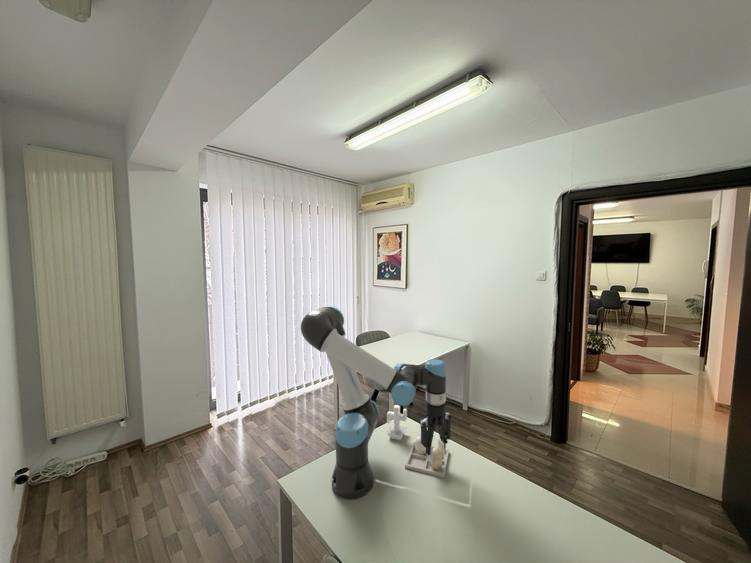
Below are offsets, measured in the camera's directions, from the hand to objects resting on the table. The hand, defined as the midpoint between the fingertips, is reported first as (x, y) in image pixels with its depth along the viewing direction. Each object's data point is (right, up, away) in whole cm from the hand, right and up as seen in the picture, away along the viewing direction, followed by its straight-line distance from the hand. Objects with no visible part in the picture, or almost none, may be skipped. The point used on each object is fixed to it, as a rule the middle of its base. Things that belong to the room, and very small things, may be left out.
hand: (435, 459), depth 113 cm
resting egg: (-4, -3, +9) cm, 11 cm away
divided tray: (-2, -4, +5) cm, 7 cm away
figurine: (-13, -3, +21) cm, 25 cm away
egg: (0, -2, 0) cm, 2 cm away
